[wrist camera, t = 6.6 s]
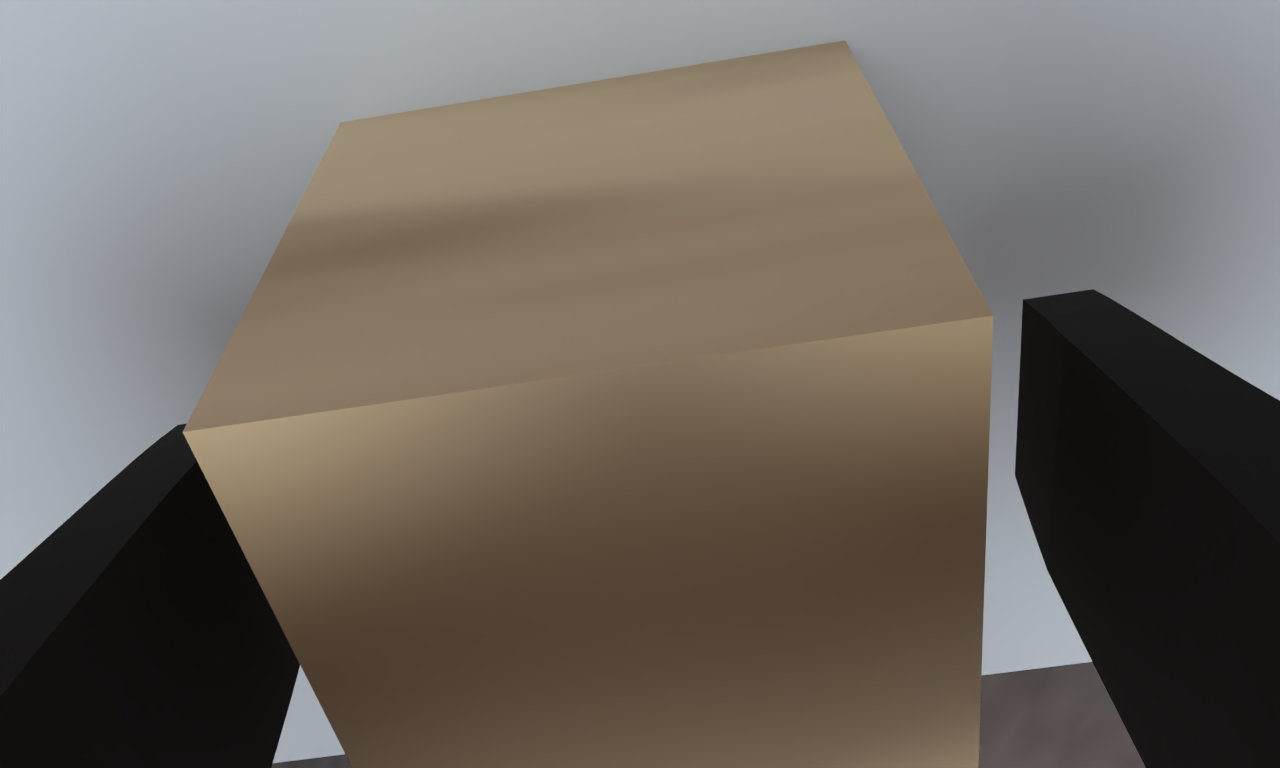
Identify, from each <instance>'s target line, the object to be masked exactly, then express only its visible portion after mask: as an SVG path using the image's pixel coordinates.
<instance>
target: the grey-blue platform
mask: <svg viewBox="0 0 1280 768" xmlns="http://www.w3.org/2000/svg"><path fill="white" fill-rule="evenodd" d="M844 40H845V41H846V43H847V45H848V46H849V48H850V50H851V52H852V54H853V56H854V58H855V59H856V61H857V63H858V65H859V67H860V69H861V71H862V72H863V74H864V76H865V78H866V80H867V82H868V84H869V85H870V87H871V89H872V91H873V93H874V95H875V97H876V98H877V100H878V102H879V104H880V106H881V108H882V110H883V111H884V113H885V115H886V117H887V119H888V121H889V123H890V124H891V126H892V128H893V130H894V132H895V134H896V136H897V137H898V139H899V141H900V143H901V145H902V147H903V149H904V150H905V152H906V154H907V156H908V158H909V160H910V162H911V163H912V165H913V167H914V169H915V171H916V173H917V175H918V176H919V178H920V180H921V182H922V184H923V186H924V187H925V189H926V191H927V193H928V195H929V197H930V199H931V200H932V202H933V204H934V206H935V208H936V210H937V212H938V213H939V215H940V217H941V219H942V221H943V223H944V225H945V226H946V228H947V230H948V232H949V234H950V236H951V238H952V239H953V241H954V243H955V245H956V247H957V249H958V251H959V252H960V254H961V256H962V258H963V260H964V262H965V264H966V265H967V267H968V269H969V271H970V273H971V275H972V277H973V278H974V280H975V282H976V284H977V286H978V288H979V290H980V291H981V293H982V295H983V297H984V299H985V301H986V303H987V304H988V306H989V308H990V310H991V312H992V314H993V346H992V375H991V405H990V435H989V465H988V495H987V525H986V554H985V584H984V614H983V644H982V674H981V675H989V674H997V673H1005V672H1013V671H1021V670H1029V669H1037V668H1045V667H1053V666H1061V665H1069V664H1077V663H1085V662H1092V660H1091V658H1090V656H1089V654H1088V652H1087V650H1086V648H1085V646H1084V644H1083V642H1082V640H1081V638H1080V636H1079V634H1078V632H1077V630H1076V628H1075V626H1074V624H1073V622H1072V620H1071V618H1070V616H1069V614H1068V612H1067V610H1066V607H1065V605H1064V603H1063V601H1062V599H1061V597H1060V595H1059V593H1058V591H1057V589H1056V587H1055V585H1054V583H1053V581H1052V579H1051V577H1050V575H1049V573H1048V571H1047V568H1046V565H1045V562H1044V560H1043V557H1042V554H1041V551H1040V548H1039V546H1038V543H1037V540H1036V537H1035V534H1034V532H1033V529H1032V526H1031V523H1030V520H1029V517H1028V514H1027V511H1026V508H1025V505H1024V502H1023V499H1022V496H1021V493H1020V490H1019V486H1018V483H1017V480H1016V477H1015V461H1016V439H1017V417H1018V395H1019V373H1020V351H1021V329H1022V307H1023V299H1030V298H1037V297H1043V296H1050V295H1057V294H1064V293H1070V292H1077V291H1084V290H1091V289H1094V290H1096V291H1098V292H1100V293H1101V294H1103V295H1105V296H1107V297H1109V298H1110V299H1112V300H1114V301H1116V302H1117V303H1119V304H1121V305H1122V306H1124V307H1126V308H1127V309H1129V310H1131V311H1132V312H1134V313H1136V314H1137V315H1139V316H1141V317H1142V318H1144V319H1145V320H1147V321H1149V322H1150V323H1152V324H1154V325H1155V326H1157V327H1158V328H1160V329H1162V330H1163V331H1165V332H1167V333H1168V334H1170V335H1171V336H1173V337H1175V338H1176V339H1178V340H1179V341H1181V342H1183V343H1184V344H1186V345H1188V346H1189V347H1191V348H1192V349H1194V350H1196V351H1197V352H1199V353H1201V354H1202V355H1204V356H1206V357H1207V358H1209V359H1210V360H1212V361H1214V362H1215V363H1217V364H1219V365H1220V366H1222V367H1224V368H1225V369H1227V370H1229V371H1230V372H1232V373H1234V374H1235V375H1237V376H1239V377H1240V378H1242V379H1244V380H1245V381H1247V382H1249V383H1250V384H1252V385H1254V386H1256V387H1257V388H1259V389H1261V390H1262V391H1264V392H1266V393H1267V394H1269V395H1271V396H1273V397H1274V398H1276V399H1278V400H1280V0H0V579H2V578H3V577H4V576H5V575H6V574H7V573H8V572H10V571H11V570H12V569H13V568H14V567H15V566H16V565H17V564H18V563H20V562H21V561H22V560H23V559H24V558H25V557H26V556H27V555H28V554H30V553H31V552H32V551H33V550H34V549H35V548H36V547H37V546H39V545H40V544H41V543H42V542H43V541H44V540H45V539H46V538H47V537H49V536H50V535H51V534H52V533H53V532H54V531H55V530H56V529H57V528H59V527H60V526H61V525H62V524H63V523H64V522H65V521H66V520H67V519H69V518H70V517H71V516H72V515H73V514H74V513H75V512H76V511H78V510H79V509H80V508H81V507H82V506H83V505H84V504H85V503H86V502H87V501H89V500H90V499H91V498H92V497H93V496H94V495H95V494H96V493H97V492H98V491H100V490H101V489H102V488H103V487H104V486H105V485H106V484H107V483H109V482H110V481H111V480H112V479H113V478H114V477H115V476H116V475H117V474H119V473H120V472H121V471H122V470H123V469H124V468H125V467H127V466H128V465H129V464H130V463H131V462H132V461H133V460H135V459H136V458H137V457H138V456H139V455H140V454H142V453H143V452H144V451H145V450H146V449H148V448H149V447H150V446H151V445H152V444H154V443H155V442H156V441H157V440H159V439H160V438H161V437H162V436H164V435H165V434H166V433H168V432H169V431H170V430H172V429H173V428H174V427H176V426H177V425H180V424H187V422H188V420H189V418H190V416H191V414H192V413H193V411H194V409H195V407H196V405H197V403H198V401H199V399H200V397H201V395H202V393H203V391H204V389H205V387H206V385H207V383H208V381H209V379H210V377H211V375H212V373H213V371H214V369H215V367H216V365H217V364H218V362H219V360H220V358H221V356H222V354H223V352H224V350H225V348H226V346H227V344H228V342H229V340H230V338H231V336H232V334H233V332H234V330H235V328H236V326H237V324H238V322H239V320H240V318H241V316H242V315H243V313H244V311H245V309H246V307H247V305H248V303H249V301H250V299H251V297H252V295H253V293H254V291H255V289H256V287H257V285H258V283H259V281H260V279H261V277H262V275H263V273H264V271H265V269H266V267H267V266H268V264H269V262H270V260H271V258H272V256H273V254H274V252H275V250H276V248H277V246H278V244H279V242H280V240H281V238H282V236H283V234H284V232H285V230H286V228H287V226H288V224H289V222H290V220H291V218H292V217H293V215H294V213H295V211H296V209H297V207H298V205H299V203H300V201H301V199H302V197H303V195H304V193H305V191H306V189H307V187H308V185H309V183H310V181H311V179H312V177H313V175H314V173H315V171H316V169H317V168H318V166H319V164H320V162H321V160H322V158H323V156H324V154H325V152H326V150H327V148H328V146H329V144H330V142H331V140H332V138H333V136H334V134H335V132H336V130H337V128H338V126H339V124H340V122H346V121H352V120H358V119H364V118H370V117H376V116H383V115H389V114H395V113H401V112H407V111H413V110H419V109H426V108H432V107H438V106H444V105H450V104H456V103H463V102H469V101H475V100H481V99H487V98H493V97H499V96H506V95H512V94H518V93H524V92H530V91H536V90H542V89H549V88H555V87H561V86H567V85H573V84H579V83H586V82H592V81H598V80H604V79H610V78H616V77H622V76H629V75H635V74H641V73H647V72H653V71H659V70H665V69H672V68H678V67H684V66H690V65H696V64H702V63H709V62H715V61H721V60H727V59H733V58H739V57H745V56H752V55H758V54H764V53H770V52H776V51H782V50H788V49H795V48H801V47H807V46H813V45H819V44H825V43H832V42H838V41H844ZM343 754H345V752H344V750H343V748H342V746H341V744H340V743H339V741H338V739H337V737H336V735H335V733H334V731H333V729H332V727H331V725H330V723H329V721H328V719H327V717H326V715H325V713H324V711H323V709H322V707H321V705H320V703H319V701H318V699H317V697H316V695H315V693H314V691H313V689H312V687H311V685H310V683H309V681H308V679H307V677H306V675H305V673H304V671H303V669H302V667H301V665H300V668H299V672H298V675H297V679H296V683H295V686H294V690H293V694H292V697H291V701H290V704H289V708H288V711H287V715H286V718H285V722H284V725H283V729H282V732H281V736H280V739H279V743H278V746H277V750H276V753H275V756H274V760H273V763H278V762H286V761H294V760H302V759H311V758H319V757H327V756H335V755H343Z"/></svg>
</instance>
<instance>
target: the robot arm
mask: <svg viewBox="0 0 1280 768" xmlns="http://www.w3.org/2000/svg"><path fill="white" fill-rule="evenodd" d="M185 426H186V424H180V425H177V426H176V427H174V428H173V429H172V430H170V431H169V432H168V433H166V434H165V435H164V436H162V437H161V438H160V439H159V440H157V441H156V442H155V443H154V444H152V445H151V446H150V447H149V448H148V449H146V450H145V451H144V452H143V453H142V454H140V455H139V456H138V457H137V458H136V459H135V460H133V461H132V462H131V463H130V464H129V465H128V466H127V467H125V468H124V469H123V470H122V471H121V472H120V473H119V474H117V475H116V476H115V477H114V478H113V479H112V480H111V481H110V482H109V483H107V484H106V485H105V486H104V487H103V488H102V489H101V490H100V491H98V492H97V493H96V494H95V495H94V496H93V497H92V498H91V499H90V500H89V501H87V502H86V503H85V504H84V505H83V506H82V507H81V508H80V509H79V510H78V511H76V512H75V513H74V514H73V515H72V516H71V517H70V518H69V519H67V520H66V521H65V522H64V523H63V524H62V525H61V526H60V527H59V528H57V529H56V530H55V531H54V532H53V533H52V534H51V535H50V536H49V537H47V538H46V539H45V540H44V541H43V542H42V543H41V544H40V545H39V546H37V547H36V548H35V549H34V550H33V551H32V552H31V553H30V554H28V555H27V556H26V557H25V558H24V559H23V560H22V561H21V562H20V563H18V564H17V565H16V566H15V567H14V568H13V569H12V570H11V571H10V572H8V573H7V574H6V575H5V576H4V577H3V578H2V579H0V768H271V767H272V763H273V760H274V756H275V753H276V750H277V746H278V743H279V739H280V736H281V732H282V729H283V725H284V722H285V718H286V715H287V711H288V708H289V704H290V701H291V697H292V694H293V690H294V686H295V683H296V679H297V675H298V672H299V668H300V663H299V661H298V659H297V657H296V656H295V654H294V652H293V650H292V648H291V646H290V644H289V642H288V640H287V638H286V636H285V634H284V632H283V630H282V628H281V626H280V624H279V622H278V620H277V618H276V616H275V614H274V612H273V610H272V608H271V606H270V604H269V602H268V600H267V598H266V596H265V594H264V592H263V590H262V588H261V586H260V584H259V582H258V580H257V578H256V576H255V574H254V572H253V570H252V569H251V567H250V565H249V563H248V561H247V559H246V557H245V555H244V553H243V551H242V549H241V547H240V545H239V543H238V541H237V539H236V537H235V535H234V533H233V531H232V529H231V527H230V525H229V523H228V521H227V519H226V517H225V515H224V513H223V511H222V509H221V507H220V505H219V503H218V501H217V499H216V497H215V495H214V493H213V491H212V489H211V487H210V485H209V483H208V481H207V480H206V478H205V476H204V474H203V472H202V470H201V468H200V466H199V464H198V462H197V460H196V458H195V456H194V454H193V452H192V450H191V448H190V446H189V444H188V442H187V440H186V438H185V436H184V434H183V430H184V428H185ZM1015 477H1016V480H1017V483H1018V486H1019V490H1020V493H1021V496H1022V499H1023V502H1024V505H1025V508H1026V511H1027V514H1028V517H1029V520H1030V523H1031V526H1032V529H1033V532H1034V534H1035V537H1036V540H1037V543H1038V546H1039V548H1040V551H1041V554H1042V557H1043V560H1044V562H1045V565H1046V568H1047V571H1048V573H1049V575H1050V577H1051V579H1052V581H1053V583H1054V585H1055V587H1056V589H1057V591H1058V593H1059V595H1060V597H1061V599H1062V601H1063V603H1064V605H1065V607H1066V610H1067V612H1068V614H1069V616H1070V618H1071V620H1072V622H1073V624H1074V626H1075V628H1076V630H1077V632H1078V634H1079V636H1080V638H1081V640H1082V642H1083V644H1084V646H1085V648H1086V650H1087V652H1088V654H1089V656H1090V658H1091V660H1092V662H1093V664H1094V666H1095V668H1096V670H1097V672H1098V673H1099V675H1100V677H1101V679H1102V681H1103V683H1104V685H1105V687H1106V689H1107V691H1108V693H1109V695H1110V697H1111V699H1112V701H1113V703H1114V705H1115V707H1116V709H1117V711H1118V713H1119V715H1120V717H1121V719H1122V721H1123V723H1124V725H1125V727H1126V729H1127V731H1128V733H1129V735H1130V737H1131V739H1132V741H1133V743H1134V745H1135V747H1136V749H1137V751H1138V753H1139V755H1140V757H1141V759H1142V761H1143V763H1144V765H1145V767H1146V768H1280V400H1278V399H1276V398H1274V397H1273V396H1271V395H1269V394H1267V393H1266V392H1264V391H1262V390H1261V389H1259V388H1257V387H1256V386H1254V385H1252V384H1250V383H1249V382H1247V381H1245V380H1244V379H1242V378H1240V377H1239V376H1237V375H1235V374H1234V373H1232V372H1230V371H1229V370H1227V369H1225V368H1224V367H1222V366H1220V365H1219V364H1217V363H1215V362H1214V361H1212V360H1210V359H1209V358H1207V357H1206V356H1204V355H1202V354H1201V353H1199V352H1197V351H1196V350H1194V349H1192V348H1191V347H1189V346H1188V345H1186V344H1184V343H1183V342H1181V341H1179V340H1178V339H1176V338H1175V337H1173V336H1171V335H1170V334H1168V333H1167V332H1165V331H1163V330H1162V329H1160V328H1158V327H1157V326H1155V325H1154V324H1152V323H1150V322H1149V321H1147V320H1145V319H1144V318H1142V317H1141V316H1139V315H1137V314H1136V313H1134V312H1132V311H1131V310H1129V309H1127V308H1126V307H1124V306H1122V305H1121V304H1119V303H1117V302H1116V301H1114V300H1112V299H1110V298H1109V297H1107V296H1105V295H1103V294H1101V293H1100V292H1098V291H1096V290H1094V289H1091V290H1084V291H1077V292H1070V293H1064V294H1057V295H1050V296H1043V297H1037V298H1030V299H1023V307H1022V329H1021V351H1020V373H1019V395H1018V417H1017V439H1016V461H1015Z"/></svg>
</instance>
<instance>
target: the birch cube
mask: <svg viewBox="0 0 1280 768" xmlns="http://www.w3.org/2000/svg"><path fill="white" fill-rule="evenodd" d="M992 346H993V314H992V312H991V310H990V308H989V306H988V304H987V303H986V301H985V299H984V297H983V295H982V293H981V291H980V290H979V288H978V286H977V284H976V282H975V280H974V278H973V277H972V275H971V273H970V271H969V269H968V267H967V265H966V264H965V262H964V260H963V258H962V256H961V254H960V252H959V251H958V249H957V247H956V245H955V243H954V241H953V239H952V238H951V236H950V234H949V232H948V230H947V228H946V226H945V225H944V223H943V221H942V219H941V217H940V215H939V213H938V212H937V210H936V208H935V206H934V204H933V202H932V200H931V199H930V197H929V195H928V193H927V191H926V189H925V187H924V186H923V184H922V182H921V180H920V178H919V176H918V175H917V173H916V171H915V169H914V167H913V165H912V163H911V162H910V160H909V158H908V156H907V154H906V152H905V150H904V149H903V147H902V145H901V143H900V141H899V139H898V137H897V136H896V134H895V132H894V130H893V128H892V126H891V124H890V123H889V121H888V119H887V117H886V115H885V113H884V111H883V110H882V108H881V106H880V104H879V102H878V100H877V98H876V97H875V95H874V93H873V91H872V89H871V87H870V85H869V84H868V82H867V80H866V78H865V76H864V74H863V72H862V71H861V69H860V67H859V65H858V63H857V61H856V59H855V58H854V56H853V54H852V52H851V50H850V48H849V46H848V45H847V43H846V41H845V40H844V41H838V42H832V43H825V44H819V45H813V46H807V47H801V48H795V49H788V50H782V51H776V52H770V53H764V54H758V55H752V56H745V57H739V58H733V59H727V60H721V61H715V62H709V63H702V64H696V65H690V66H684V67H678V68H672V69H665V70H659V71H653V72H647V73H641V74H635V75H629V76H622V77H616V78H610V79H604V80H598V81H592V82H586V83H579V84H573V85H567V86H561V87H555V88H549V89H542V90H536V91H530V92H524V93H518V94H512V95H506V96H499V97H493V98H487V99H481V100H475V101H469V102H463V103H456V104H450V105H444V106H438V107H432V108H426V109H419V110H413V111H407V112H401V113H395V114H389V115H383V116H376V117H370V118H364V119H358V120H352V121H346V122H340V124H339V126H338V128H337V130H336V132H335V134H334V136H333V138H332V140H331V142H330V144H329V146H328V148H327V150H326V152H325V154H324V156H323V158H322V160H321V162H320V164H319V166H318V168H317V169H316V171H315V173H314V175H313V177H312V179H311V181H310V183H309V185H308V187H307V189H306V191H305V193H304V195H303V197H302V199H301V201H300V203H299V205H298V207H297V209H296V211H295V213H294V215H293V217H292V218H291V220H290V222H289V224H288V226H287V228H286V230H285V232H284V234H283V236H282V238H281V240H280V242H279V244H278V246H277V248H276V250H275V252H274V254H273V256H272V258H271V260H270V262H269V264H268V266H267V267H266V269H265V271H264V273H263V275H262V277H261V279H260V281H259V283H258V285H257V287H256V289H255V291H254V293H253V295H252V297H251V299H250V301H249V303H248V305H247V307H246V309H245V311H244V313H243V315H242V316H241V318H240V320H239V322H238V324H237V326H236V328H235V330H234V332H233V334H232V336H231V338H230V340H229V342H228V344H227V346H226V348H225V350H224V352H223V354H222V356H221V358H220V360H219V362H218V364H217V365H216V367H215V369H214V371H213V373H212V375H211V377H210V379H209V381H208V383H207V385H206V387H205V389H204V391H203V393H202V395H201V397H200V399H199V401H198V403H197V405H196V407H195V409H194V411H193V413H192V414H191V416H190V418H189V420H188V422H187V424H186V426H185V428H184V430H183V434H184V436H185V438H186V440H187V442H188V444H189V446H190V448H191V450H192V452H193V454H194V456H195V458H196V460H197V462H198V464H199V466H200V468H201V470H202V472H203V474H204V476H205V478H206V480H207V481H208V483H209V485H210V487H211V489H212V491H213V493H214V495H215V497H216V499H217V501H218V503H219V505H220V507H221V509H222V511H223V513H224V515H225V517H226V519H227V521H228V523H229V525H230V527H231V529H232V531H233V533H234V535H235V537H236V539H237V541H238V543H239V545H240V547H241V549H242V551H243V553H244V555H245V557H246V559H247V561H248V563H249V565H250V567H251V569H252V570H253V572H254V574H255V576H256V578H257V580H258V582H259V584H260V586H261V588H262V590H263V592H264V594H265V596H266V598H267V600H268V602H269V604H270V606H271V608H272V610H273V612H274V614H275V616H276V618H277V620H278V622H279V624H280V626H281V628H282V630H283V632H284V634H285V636H286V638H287V640H288V642H289V644H290V646H291V648H292V650H293V652H294V654H295V656H296V657H297V659H298V661H299V663H300V665H301V667H302V669H303V671H304V673H305V675H306V677H307V679H308V681H309V683H310V685H311V687H312V689H313V691H314V693H315V695H316V697H317V699H318V701H319V703H320V705H321V707H322V709H323V711H324V713H325V715H326V717H327V719H328V721H329V723H330V725H331V727H332V729H333V731H334V733H335V735H336V737H337V739H338V741H339V743H340V744H341V746H342V748H343V750H344V752H345V754H346V756H347V758H348V760H349V762H350V764H351V766H352V768H978V763H979V734H980V704H981V674H982V644H983V614H984V584H985V554H986V525H987V495H988V465H989V435H990V405H991V375H992Z"/></svg>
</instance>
